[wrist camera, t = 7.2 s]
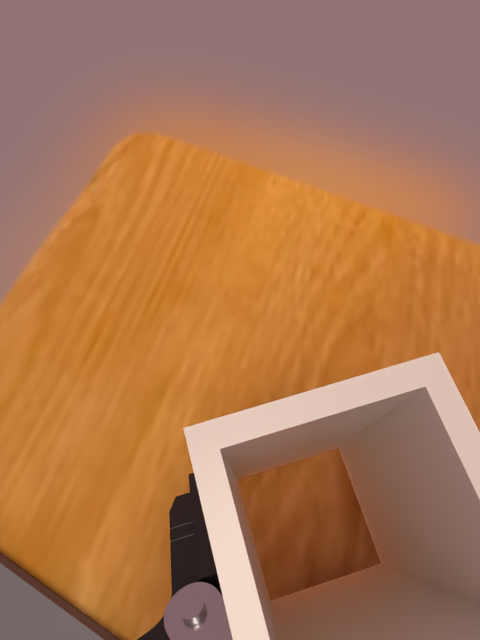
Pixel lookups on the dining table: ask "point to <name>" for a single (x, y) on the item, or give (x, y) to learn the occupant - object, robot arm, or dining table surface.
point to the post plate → (39, 610)
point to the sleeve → (374, 499)
